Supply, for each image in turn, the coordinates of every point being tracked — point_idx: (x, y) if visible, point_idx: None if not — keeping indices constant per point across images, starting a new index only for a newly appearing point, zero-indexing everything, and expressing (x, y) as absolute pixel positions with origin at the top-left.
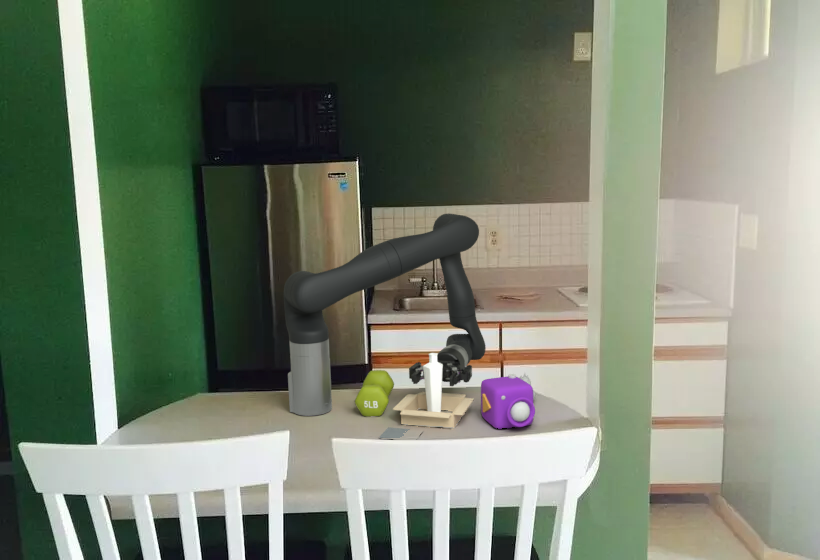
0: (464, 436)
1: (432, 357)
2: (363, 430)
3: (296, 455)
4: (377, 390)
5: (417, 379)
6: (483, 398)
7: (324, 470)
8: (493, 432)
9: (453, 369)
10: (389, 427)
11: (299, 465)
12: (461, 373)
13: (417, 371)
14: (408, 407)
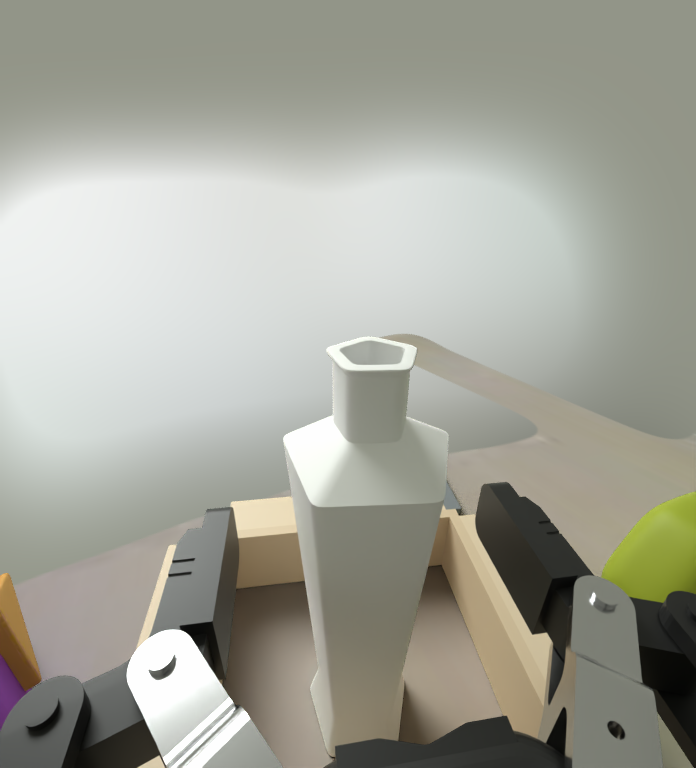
0: (176, 537)
1: (364, 360)
2: (519, 485)
3: (510, 377)
4: (654, 509)
5: (492, 536)
6: (6, 608)
7: (418, 361)
8: (39, 609)
9: (220, 717)
10: (457, 509)
11: (468, 362)
12: (117, 707)
13: (554, 552)
14: (476, 586)
